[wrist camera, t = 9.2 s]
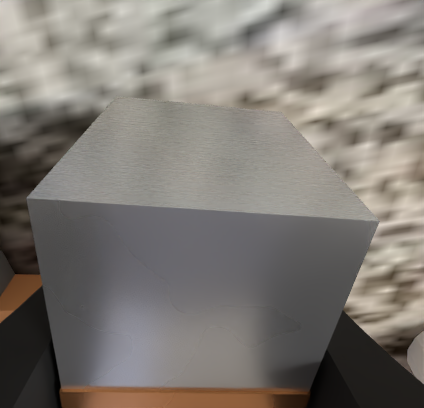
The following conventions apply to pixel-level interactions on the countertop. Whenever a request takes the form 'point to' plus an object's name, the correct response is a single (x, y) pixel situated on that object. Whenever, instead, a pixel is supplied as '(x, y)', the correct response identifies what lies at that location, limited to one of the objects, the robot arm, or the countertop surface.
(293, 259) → the orange-banded grey block
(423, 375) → the white cylinder
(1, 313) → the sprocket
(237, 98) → the countertop surface
